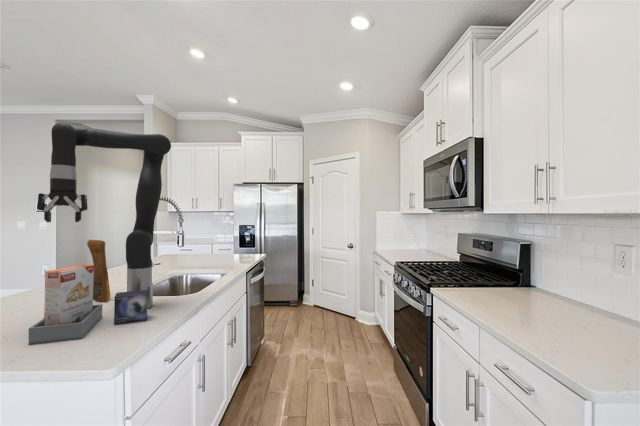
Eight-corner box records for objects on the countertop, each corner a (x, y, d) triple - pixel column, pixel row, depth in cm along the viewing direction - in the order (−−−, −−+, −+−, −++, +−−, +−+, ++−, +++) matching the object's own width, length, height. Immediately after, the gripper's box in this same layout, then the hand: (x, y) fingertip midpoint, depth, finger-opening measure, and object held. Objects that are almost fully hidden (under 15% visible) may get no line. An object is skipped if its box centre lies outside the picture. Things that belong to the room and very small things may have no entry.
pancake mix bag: (96, 305, 135) (96, 241, 135) (85, 296, 147) (86, 238, 148) (113, 301, 140) (114, 240, 140) (102, 294, 153) (103, 237, 153)
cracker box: (60, 335, 100) (61, 271, 100) (42, 335, 100) (43, 271, 100) (94, 320, 114) (94, 264, 114) (78, 320, 114) (79, 263, 114)
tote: (102, 317, 119) (102, 304, 119) (82, 338, 99) (82, 323, 99) (58, 321, 114) (58, 308, 114) (28, 344, 94) (28, 328, 94)
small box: (113, 325, 111) (113, 296, 111) (115, 320, 116) (115, 292, 116) (146, 321, 116) (147, 293, 116) (147, 315, 121) (147, 289, 121)
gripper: (90, 180, 120) (89, 221, 120) (43, 178, 114) (43, 221, 114) (83, 178, 113) (83, 222, 113) (34, 176, 108) (33, 222, 107)
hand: (63, 222), depth 114 cm, fingers open, 8 cm apart
